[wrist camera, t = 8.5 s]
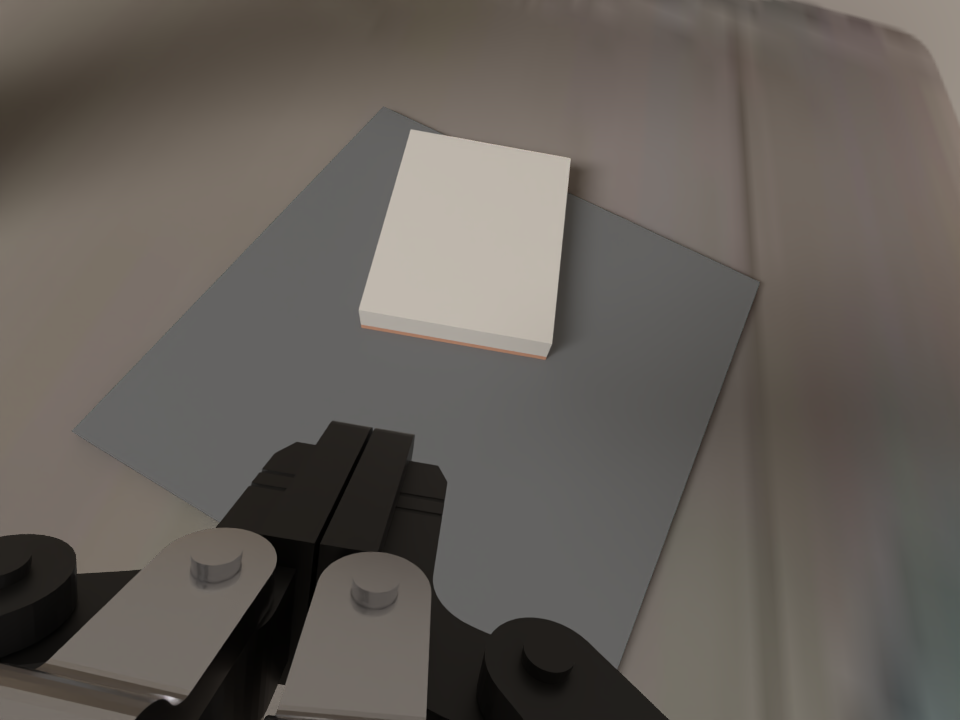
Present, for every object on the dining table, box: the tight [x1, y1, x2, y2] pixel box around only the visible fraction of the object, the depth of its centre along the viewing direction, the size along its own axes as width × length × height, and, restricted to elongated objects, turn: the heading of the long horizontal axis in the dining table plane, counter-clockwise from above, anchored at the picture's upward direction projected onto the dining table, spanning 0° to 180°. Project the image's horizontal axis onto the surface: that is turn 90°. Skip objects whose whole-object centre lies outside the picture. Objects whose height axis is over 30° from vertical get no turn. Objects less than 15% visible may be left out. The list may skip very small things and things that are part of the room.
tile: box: [359, 129, 571, 360], centre depth 30 cm, size 2×9×12 cm
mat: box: [72, 106, 760, 669], centre depth 28 cm, size 24×24×1 cm
